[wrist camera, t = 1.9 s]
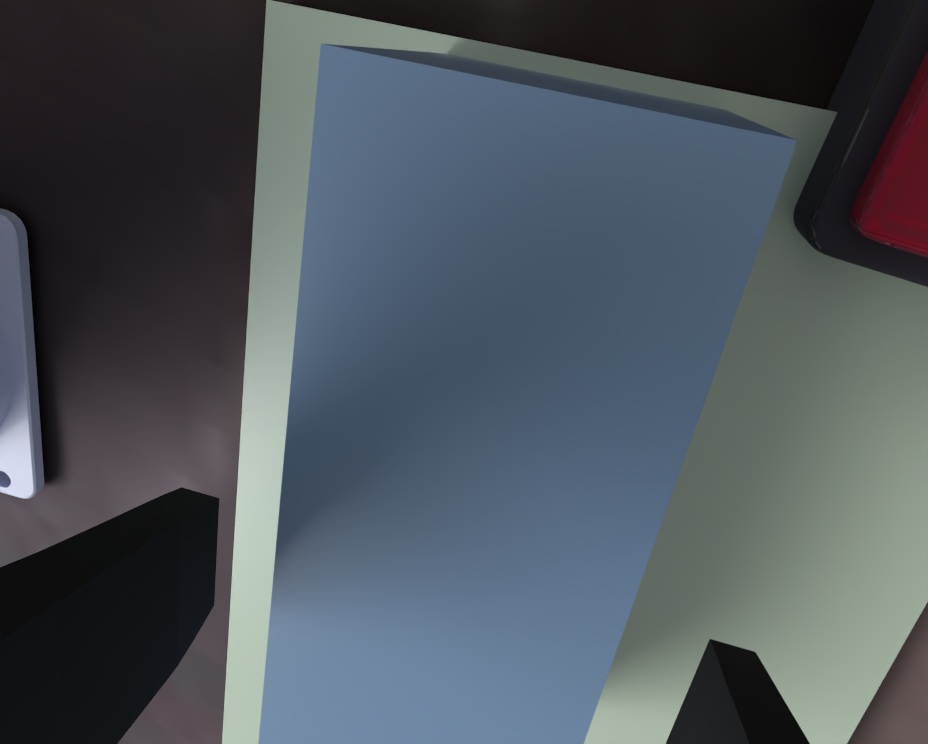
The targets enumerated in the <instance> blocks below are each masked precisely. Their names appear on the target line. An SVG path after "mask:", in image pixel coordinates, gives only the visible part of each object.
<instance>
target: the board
mask: <svg viewBox="0 0 928 744" xmlns="http://www.w3.org/2000/svg"><path fill="white" fill-rule="evenodd" d="M321 44H332V45H345V46H357V47H370V48H383V49H395V50H408V51H421V52H433V53H446V54H451V55H456V56H461V57H466V58H471V59H476V60H481V61H486V62H491V63H496V64H501V65H506V66H511V67H516V68H521V69H526V70H531V71H536V72H541V73H546V74H551V75H556V76H561V77H566V78H571V79H576V80H581V81H586V82H591V83H596V84H601V85H606V86H611V87H616V88H621V89H626V90H631V91H636V92H641V93H646V94H651V95H656V96H661V97H666V98H671V99H676V100H681V101H686V102H691V103H696V104H701V105H706V106H711V107H716V108H721V109H725V110H727V111H730V112H732V113H734V114H737V115H739V116H741V117H744V118H746V119H748V120H751V121H753V122H755V123H758V124H760V125H762V126H765V127H767V128H770V129H772V130H774V131H777V132H779V133H781V134H784V135H786V136H788V137H791V138H793V139H795V140H797V143H796V145H795V148H794V151H793V154H792V157H791V160H790V162H789V165H788V168H787V171H786V174H785V177H784V179H783V182H782V185H781V188H780V191H779V193H778V196H777V199H776V202H775V205H774V208H773V210H772V213H771V216H770V219H769V222H768V225H767V227H766V230H765V233H764V236H763V239H762V241H761V244H760V247H759V250H758V253H757V256H756V258H755V261H754V264H753V267H752V270H751V273H750V275H749V278H748V281H747V284H746V287H745V290H744V292H743V295H742V298H741V301H740V304H739V306H738V309H737V312H736V315H735V318H734V321H733V323H732V326H731V329H730V332H729V335H728V338H727V340H726V343H725V346H724V349H723V352H722V354H721V357H720V360H719V363H718V366H717V369H716V371H715V374H714V377H713V380H712V383H711V386H710V388H709V391H708V394H707V397H706V400H705V402H704V405H703V408H702V411H701V414H700V417H699V419H698V422H697V425H696V428H695V431H694V434H693V436H692V439H691V442H690V445H689V448H688V450H687V453H686V456H685V459H684V462H683V465H682V467H681V470H680V473H679V476H678V479H677V482H676V484H675V487H674V490H673V493H672V496H671V498H670V501H669V504H668V507H667V510H666V513H665V515H664V518H663V521H662V524H661V527H660V530H659V532H658V535H657V538H656V541H655V544H654V546H653V549H652V552H651V555H650V558H649V561H648V563H647V566H646V569H645V572H644V575H643V578H642V580H641V583H640V586H639V589H638V592H637V594H636V597H635V600H634V603H633V606H632V609H631V611H630V614H629V617H628V620H627V623H626V626H625V628H624V631H623V634H622V637H621V640H620V642H619V645H618V648H617V651H616V654H615V657H614V659H613V662H612V665H611V668H610V671H609V674H608V676H607V679H606V682H605V685H604V688H603V691H602V693H601V696H600V699H599V702H598V705H597V707H596V710H595V713H594V716H593V719H592V722H591V724H590V727H589V730H588V733H587V736H586V739H585V741H584V744H666V742H667V739H668V737H669V734H670V732H671V730H672V727H673V725H674V723H675V720H676V718H677V715H678V713H679V711H680V708H681V706H682V704H683V701H684V699H685V696H686V694H687V692H688V689H689V687H690V685H691V682H692V680H693V677H694V675H695V673H696V670H697V668H698V666H699V663H700V661H701V658H702V656H703V654H704V651H705V649H706V647H707V644H708V642H709V640H710V639H712V640H716V641H719V642H723V643H726V644H730V645H733V646H737V647H740V648H744V649H747V650H751V651H754V652H756V654H757V655H758V657H759V659H760V660H761V662H762V664H763V665H764V667H765V669H766V670H767V672H768V674H769V675H770V677H771V679H772V681H773V682H774V684H775V686H776V687H777V689H778V691H779V692H780V694H781V696H782V697H783V699H784V701H785V703H786V704H787V706H788V708H789V709H790V711H791V713H792V714H793V716H794V718H795V719H796V721H797V723H798V724H799V726H800V728H801V729H802V731H803V733H804V734H805V736H806V738H807V739H808V741H809V743H810V744H847V743H848V741H849V739H850V737H851V736H852V734H853V732H854V730H855V729H856V727H857V725H858V723H859V722H860V720H861V718H862V716H863V715H864V713H865V711H866V709H867V708H868V706H869V704H870V702H871V701H872V699H873V697H874V695H875V693H876V692H877V690H878V688H879V686H880V685H881V683H882V681H883V679H884V678H885V676H886V674H887V672H888V671H889V669H890V667H891V665H892V664H893V662H894V660H895V658H896V657H897V655H898V653H899V651H900V649H901V648H902V646H903V644H904V642H905V641H906V639H907V637H908V635H909V634H910V632H911V630H912V628H913V627H914V625H915V623H916V621H917V620H918V618H919V616H920V614H921V613H922V611H923V609H924V607H925V606H926V604H927V602H928V287H926V286H923V285H920V284H916V283H913V282H910V281H907V280H903V279H900V278H897V277H894V276H891V275H887V274H884V273H881V272H878V271H874V270H871V269H868V268H865V267H862V266H858V265H855V264H852V263H849V262H846V261H842V260H839V259H836V258H833V257H830V256H828V255H825V254H822V253H821V252H819V251H817V250H815V249H814V248H813V247H812V246H811V245H810V244H809V243H808V242H807V241H806V239H805V238H804V237H803V236H802V235H801V234H800V232H799V231H798V230H797V228H796V227H795V224H794V219H793V215H794V209H795V206H796V204H797V201H798V199H799V197H800V194H801V192H802V190H803V187H804V185H805V183H806V181H807V178H808V176H809V174H810V172H811V170H812V167H813V165H814V163H815V161H816V159H817V156H818V154H819V152H820V150H821V148H822V145H823V143H824V141H825V139H826V137H827V134H828V132H829V130H830V128H831V126H832V123H833V121H834V119H835V117H836V115H837V112H834V111H829V110H825V109H820V108H815V107H809V106H804V105H799V104H794V103H789V102H784V101H779V100H774V99H769V98H764V97H759V96H754V95H749V94H744V93H739V92H734V91H728V90H723V89H718V88H713V87H708V86H703V85H698V84H693V83H688V82H683V81H678V80H673V79H668V78H663V77H658V76H652V75H647V74H642V73H637V72H632V71H627V70H622V69H617V68H612V67H607V66H602V65H597V64H592V63H587V62H582V61H576V60H571V59H566V58H561V57H556V56H551V55H546V54H541V53H536V52H531V51H526V50H521V49H516V48H511V47H506V46H501V45H495V44H490V43H485V42H480V41H475V40H470V39H465V38H460V37H455V36H450V35H445V34H440V33H435V32H430V31H425V30H419V29H414V28H409V27H404V26H399V25H394V24H389V23H384V22H379V21H374V20H369V19H364V18H359V17H354V16H349V15H343V14H338V13H333V12H328V11H323V10H318V9H313V8H308V7H303V6H298V5H293V4H288V3H282V2H277V1H272V0H266V16H265V33H264V50H263V67H262V83H261V100H260V117H259V134H258V150H257V167H256V184H255V201H254V218H253V234H252V251H251V268H250V285H249V301H248V318H247V335H246V352H245V368H244V385H243V402H242V419H241V435H240V452H239V469H238V486H237V503H236V519H235V536H234V553H233V570H232V586H231V603H230V620H229V637H228V653H227V670H226V687H225V704H224V721H223V737H222V744H258V742H259V731H260V720H261V709H262V697H263V686H264V675H265V664H266V653H267V641H268V630H269V619H270V608H271V596H272V585H273V574H274V563H275V552H276V540H277V529H278V518H279V507H280V496H281V484H282V473H283V462H284V451H285V439H286V428H287V417H288V406H289V395H290V383H291V372H292V361H293V350H294V338H295V327H296V316H297V305H298V294H299V282H300V271H301V260H302V249H303V238H304V226H305V215H306V204H307V193H308V181H309V170H310V159H311V148H312V137H313V125H314V114H315V103H316V92H317V81H318V69H319V58H320V47H321Z"/></svg>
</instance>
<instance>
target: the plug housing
mask: <svg viewBox="0 0 928 744" xmlns="http://www.w3.org/2000/svg"><path fill="white" fill-rule="evenodd" d="M796 143H797V140H795V139H793V138H791V137H788V136H786V135H784V134H781V133H779V132H777V131H774V130H772V129H770V128H767V127H765V126H762V125H760V124H758V123H755V122H753V121H751V120H748V119H746V118H744V117H741V116H739V115H737V114H734V113H732V112H730V111H727V110H725V109H721V108H716V107H711V106H706V105H701V104H696V103H691V102H686V101H681V100H676V99H671V98H666V97H661V96H656V95H651V94H646V93H641V92H636V91H631V90H626V89H621V88H616V87H611V86H606V85H601V84H596V83H591V82H586V81H581V80H576V79H571V78H566V77H561V76H556V75H551V74H546V73H541V72H536V71H531V70H526V69H521V68H516V67H511V66H506V65H501V64H496V63H491V62H486V61H481V60H476V59H471V58H466V57H461V56H456V55H451V54H446V53H433V52H421V51H408V50H395V49H383V48H370V47H357V46H345V45H332V44H321V47H320V58H319V69H318V81H317V92H316V103H315V114H314V125H313V137H312V148H311V159H310V170H309V181H308V193H307V204H306V215H305V226H304V238H303V249H302V260H301V271H300V282H299V294H298V305H297V316H296V327H295V338H294V350H293V361H292V372H291V383H290V395H289V406H288V417H287V428H286V439H285V451H284V462H283V473H282V484H281V496H280V507H279V518H278V529H277V540H276V552H275V563H274V574H273V585H272V596H271V608H270V619H269V630H268V641H267V653H266V664H265V675H264V686H263V697H262V709H261V720H260V731H259V742H258V744H584V741H585V739H586V736H587V733H588V730H589V727H590V724H591V722H592V719H593V716H594V713H595V710H596V707H597V705H598V702H599V699H600V696H601V693H602V691H603V688H604V685H605V682H606V679H607V676H608V674H609V671H610V668H611V665H612V662H613V659H614V657H615V654H616V651H617V648H618V645H619V642H620V640H621V637H622V634H623V631H624V628H625V626H626V623H627V620H628V617H629V614H630V611H631V609H632V606H633V603H634V600H635V597H636V594H637V592H638V589H639V586H640V583H641V580H642V578H643V575H644V572H645V569H646V566H647V563H648V561H649V558H650V555H651V552H652V549H653V546H654V544H655V541H656V538H657V535H658V532H659V530H660V527H661V524H662V521H663V518H664V515H665V513H666V510H667V507H668V504H669V501H670V498H671V496H672V493H673V490H674V487H675V484H676V482H677V479H678V476H679V473H680V470H681V467H682V465H683V462H684V459H685V456H686V453H687V450H688V448H689V445H690V442H691V439H692V436H693V434H694V431H695V428H696V425H697V422H698V419H699V417H700V414H701V411H702V408H703V405H704V402H705V400H706V397H707V394H708V391H709V388H710V386H711V383H712V380H713V377H714V374H715V371H716V369H717V366H718V363H719V360H720V357H721V354H722V352H723V349H724V346H725V343H726V340H727V338H728V335H729V332H730V329H731V326H732V323H733V321H734V318H735V315H736V312H737V309H738V306H739V304H740V301H741V298H742V295H743V292H744V290H745V287H746V284H747V281H748V278H749V275H750V273H751V270H752V267H753V264H754V261H755V258H756V256H757V253H758V250H759V247H760V244H761V241H762V239H763V236H764V233H765V230H766V227H767V225H768V222H769V219H770V216H771V213H772V210H773V208H774V205H775V202H776V199H777V196H778V193H779V191H780V188H781V185H782V182H783V179H784V177H785V174H786V171H787V168H788V165H789V162H790V160H791V157H792V154H793V151H794V148H795V145H796Z"/></svg>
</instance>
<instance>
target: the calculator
mask: <svg viewBox="0 0 928 744" xmlns="http://www.w3.org/2000/svg"><path fill="white" fill-rule="evenodd" d="M826 110H829V111H834V112H837V115H836V117H835V119H834V121H833V123H832V126H831V128H830V130H829V132H828V134H827V137H826V139H825V141H824V143H823V145H822V148H821V150H820V152H819V154H818V156H817V159H816V161H815V163H814V165H813V167H812V170H811V172H810V174H809V176H808V178H807V181H806V183H805V185H804V187H803V190H802V192H801V194H800V197H799V199H798V201H797V204H796V206H795V209H794V215H793V219H794V224H795V227H796V228H797V230H798V231H799V232H800V234H801V235H802V236H803V237H804V238H805V239H806V241H807V242H808V243H809V244H810V245H811V246H812V247H813V248H814V249H815V250H817V251H819V252H821V253H822V254H825V255H828V256H830V257H833V258H836V259H839V260H842V261H846V262H849V263H852V264H855V265H858V266H862V267H865V268H868V269H871V270H874V271H878V272H881V273H884V274H887V275H891V276H894V277H897V278H900V279H903V280H907V281H910V282H913V283H916V284H920V285H923V286H926V287H928V0H875V1H874V3H873V6H872V8H871V10H870V12H869V15H868V17H867V19H866V21H865V23H864V26H863V28H862V30H861V32H860V35H859V37H858V39H857V41H856V44H855V46H854V48H853V50H852V53H851V55H850V57H849V59H848V61H847V64H846V66H845V68H844V70H843V73H842V75H841V77H840V79H839V82H838V84H837V86H836V88H835V91H834V93H833V95H832V97H831V99H830V102H829V104H828V106H827V108H826Z"/></svg>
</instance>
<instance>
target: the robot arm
mask: <svg viewBox="0 0 928 744" xmlns="http://www.w3.org/2000/svg"><path fill="white" fill-rule="evenodd" d="M43 488H44V469H43V455H42V441H41V426H40V412H39V398H38V384H37V369H36V355H35V341H34V327H33V312H32V298H31V284H30V269H29V255H28V241H27V233H26V229H25V226H24V224H23V223H22V221H21V219H20V218H18V217H17V216H16V215H15V214H14V213H12V212H10V211H8V210H5V209H1V208H0V492H2V493H6V494H9V495H13V496H16V497H19V498H25V499H28V498H31V497H33V496H35V495H36V494H37V493H39V492H40V491H41V490H42V489H43ZM218 510H219V498H216V497H213V496H209V495H206V494H202V493H199V492H195V491H192V490H188V489H185V488H179V489H177V490H174V491H172V492H169V493H167V494H165V495H162V496H160V497H158V498H156V499H153V500H151V501H149V502H147V503H145V504H142V505H140V506H138V507H136V508H134V509H132V510H129V511H127V512H125V513H123V514H121V515H119V516H117V517H114V518H112V519H110V520H108V521H106V522H104V523H101V524H99V525H97V526H95V527H93V528H90V529H88V530H86V531H84V532H82V533H79V534H77V535H75V536H73V537H71V538H68V539H66V540H64V541H62V542H60V543H57V544H55V545H53V546H51V547H48V548H46V549H44V550H42V551H39V552H37V553H35V554H32V555H30V556H27V557H25V558H23V559H20V560H18V561H15V562H13V563H10V564H8V565H5V566H3V567H1V568H0V744H117V743H118V742H119V741H120V739H121V738H122V737H123V735H124V734H125V733H126V732H127V730H128V729H129V728H130V727H131V725H132V724H133V723H134V722H135V720H136V719H137V718H138V716H139V715H140V714H141V713H142V711H143V710H144V709H145V707H146V706H147V705H148V704H149V702H150V701H151V700H152V698H153V697H154V696H155V695H156V693H157V692H158V691H159V689H160V688H161V687H162V686H163V684H164V683H165V682H166V680H167V679H168V678H169V676H170V675H171V674H172V672H173V671H174V670H175V668H176V667H177V666H178V664H179V663H180V661H181V659H182V658H183V656H184V655H185V653H186V651H187V650H188V648H189V647H190V645H191V643H192V642H193V640H194V639H195V637H196V635H197V633H198V632H199V630H200V628H201V627H202V625H203V623H204V621H205V620H206V618H207V616H208V615H209V613H210V611H211V610H212V608H213V606H214V595H215V574H216V553H217V531H218ZM666 744H810V743H809V741H808V739H807V738H806V736H805V734H804V733H803V731H802V729H801V728H800V726H799V724H798V723H797V721H796V719H795V718H794V716H793V714H792V713H791V711H790V709H789V708H788V706H787V704H786V703H785V701H784V699H783V697H782V696H781V694H780V692H779V691H778V689H777V687H776V686H775V684H774V682H773V681H772V679H771V677H770V675H769V674H768V672H767V670H766V669H765V667H764V665H763V664H762V662H761V660H760V659H759V657H758V655H757V654H756V652H754V651H751V650H747V649H744V648H740V647H737V646H733V645H730V644H726V643H723V642H719V641H716V640H712V639H710V640H709V642H708V644H707V647H706V649H705V651H704V654H703V656H702V658H701V661H700V663H699V666H698V668H697V670H696V673H695V675H694V677H693V680H692V682H691V685H690V687H689V689H688V692H687V694H686V696H685V699H684V701H683V704H682V706H681V708H680V711H679V713H678V715H677V718H676V720H675V723H674V725H673V727H672V730H671V732H670V734H669V737H668V739H667V742H666Z"/></svg>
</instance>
